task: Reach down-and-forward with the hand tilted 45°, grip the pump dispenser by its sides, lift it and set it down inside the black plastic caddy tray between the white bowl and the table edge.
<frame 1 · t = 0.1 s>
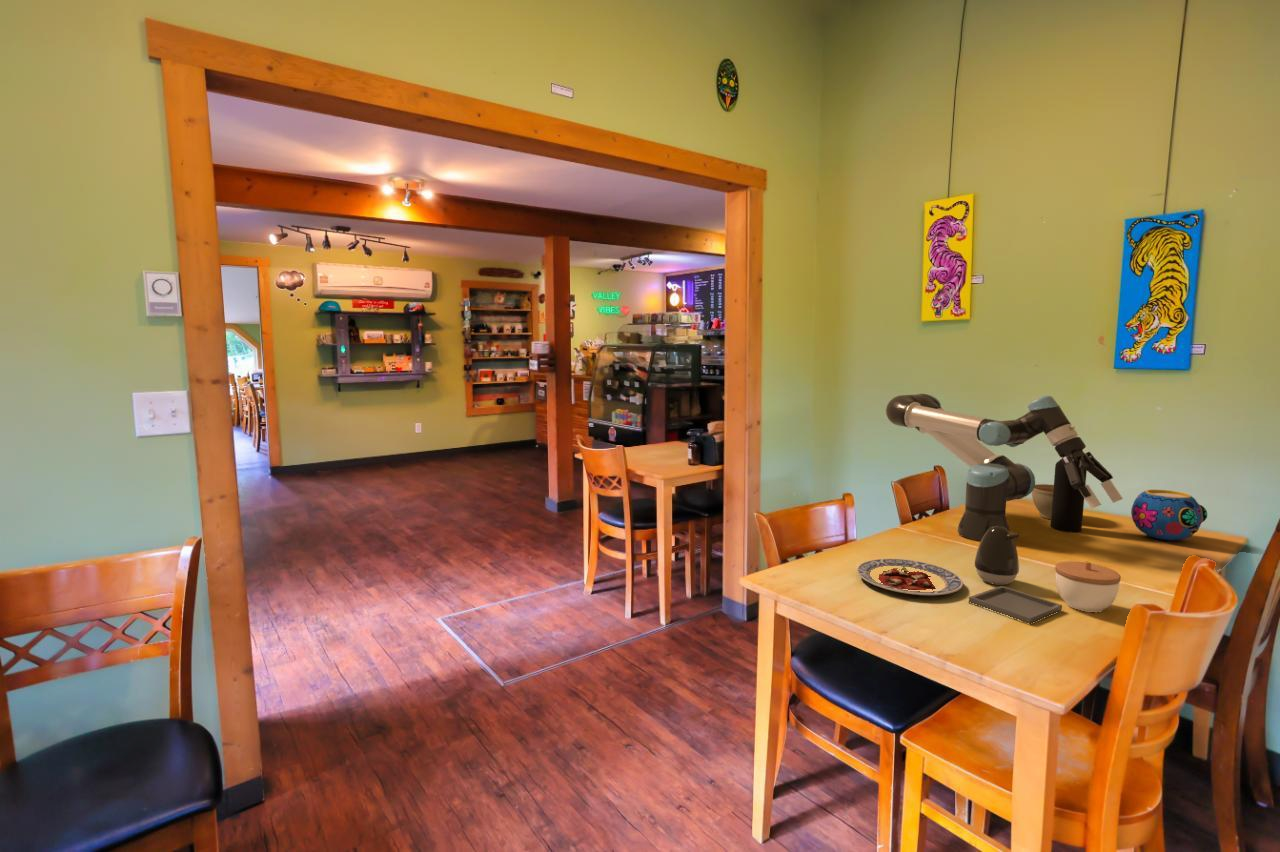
hand: (1107, 503, 185), 15 cm above the table, tool tilted 35°, fingers open, 13 cm apart
lidded bowl: (1084, 607, 148), on the table
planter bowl: (1055, 518, 226), on the table
ceramic plate: (907, 583, 164), on the table
ceramic pot: (1163, 539, 201), on the table
pump dispenser: (995, 582, 164), on the table
caddy tray: (1014, 606, 148), on the table
bottle: (1065, 529, 212), on the table
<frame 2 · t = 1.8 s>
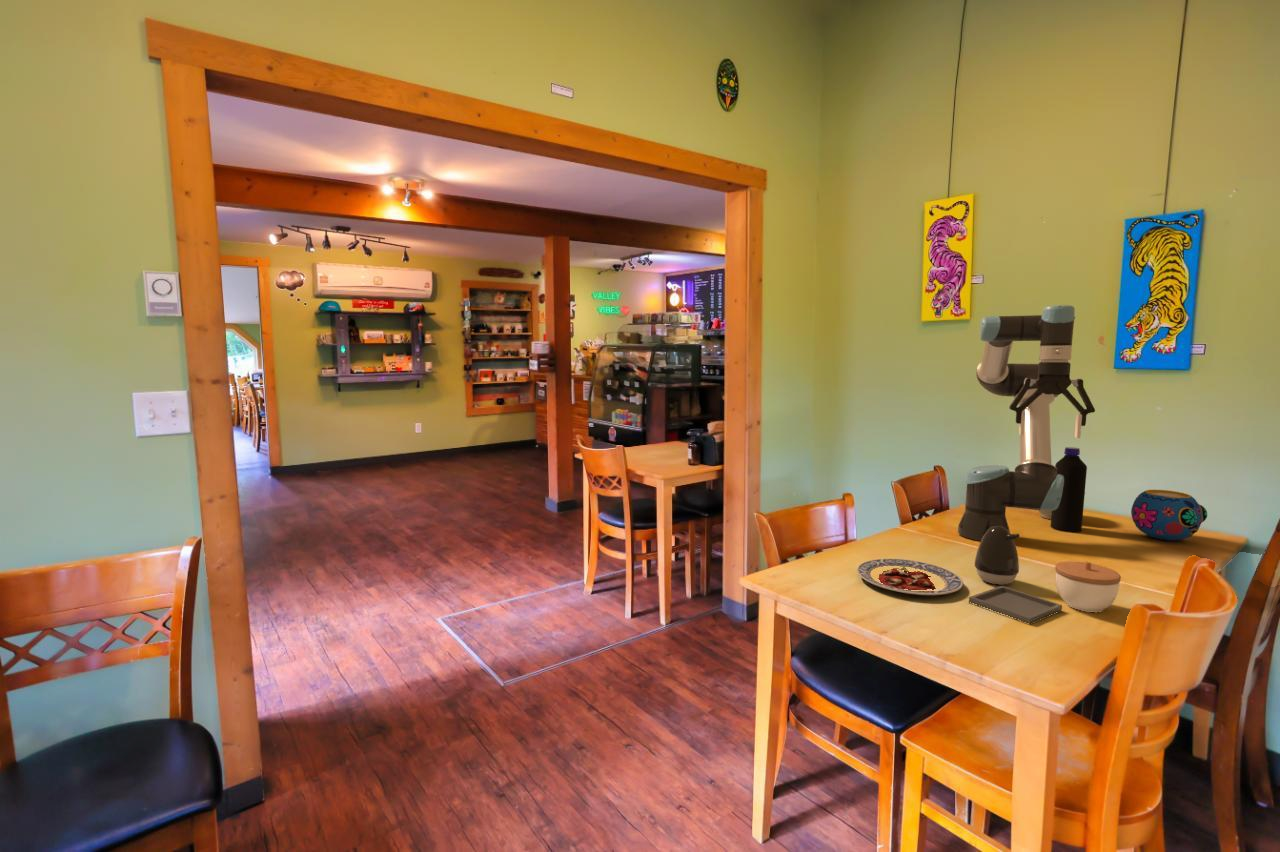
hand: (1048, 436, 176), 37 cm above the table, tool pointing down, fingers open, 13 cm apart
nothing on the table moved.
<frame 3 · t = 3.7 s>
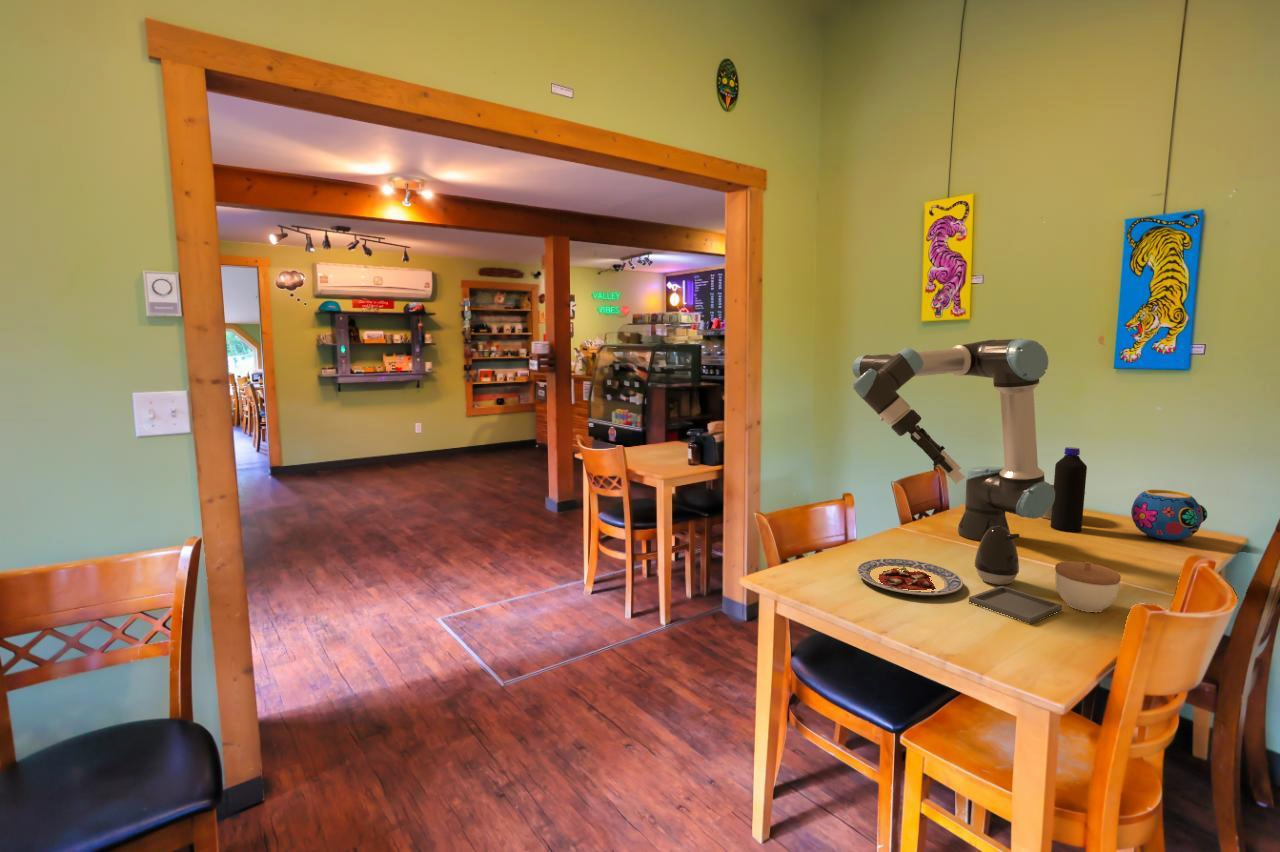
hand: (958, 475, 165), 28 cm above the table, tool tilted 45°, fingers open, 13 cm apart
nothing on the table moved.
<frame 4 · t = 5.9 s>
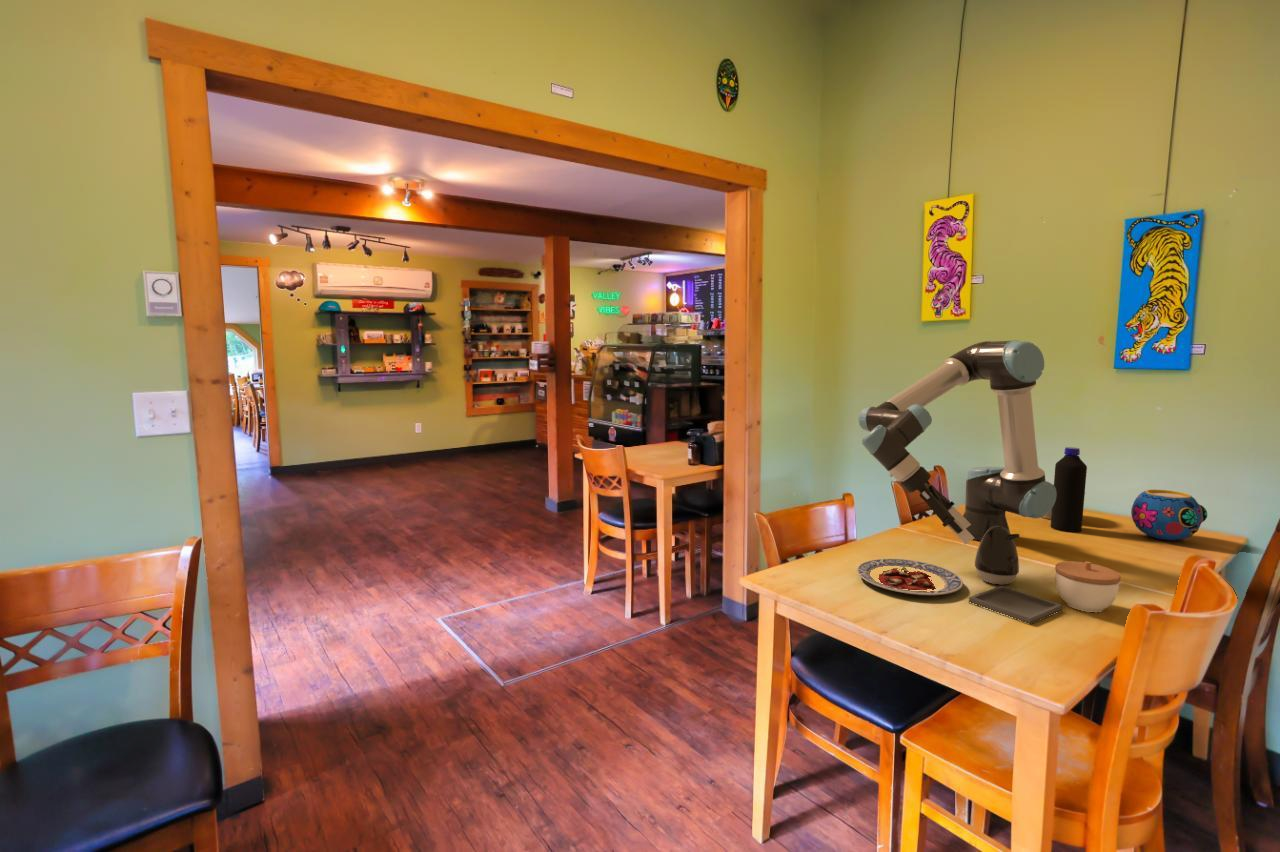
hand: (968, 534, 165), 12 cm above the table, tool tilted 45°, fingers open, 13 cm apart
nothing on the table moved.
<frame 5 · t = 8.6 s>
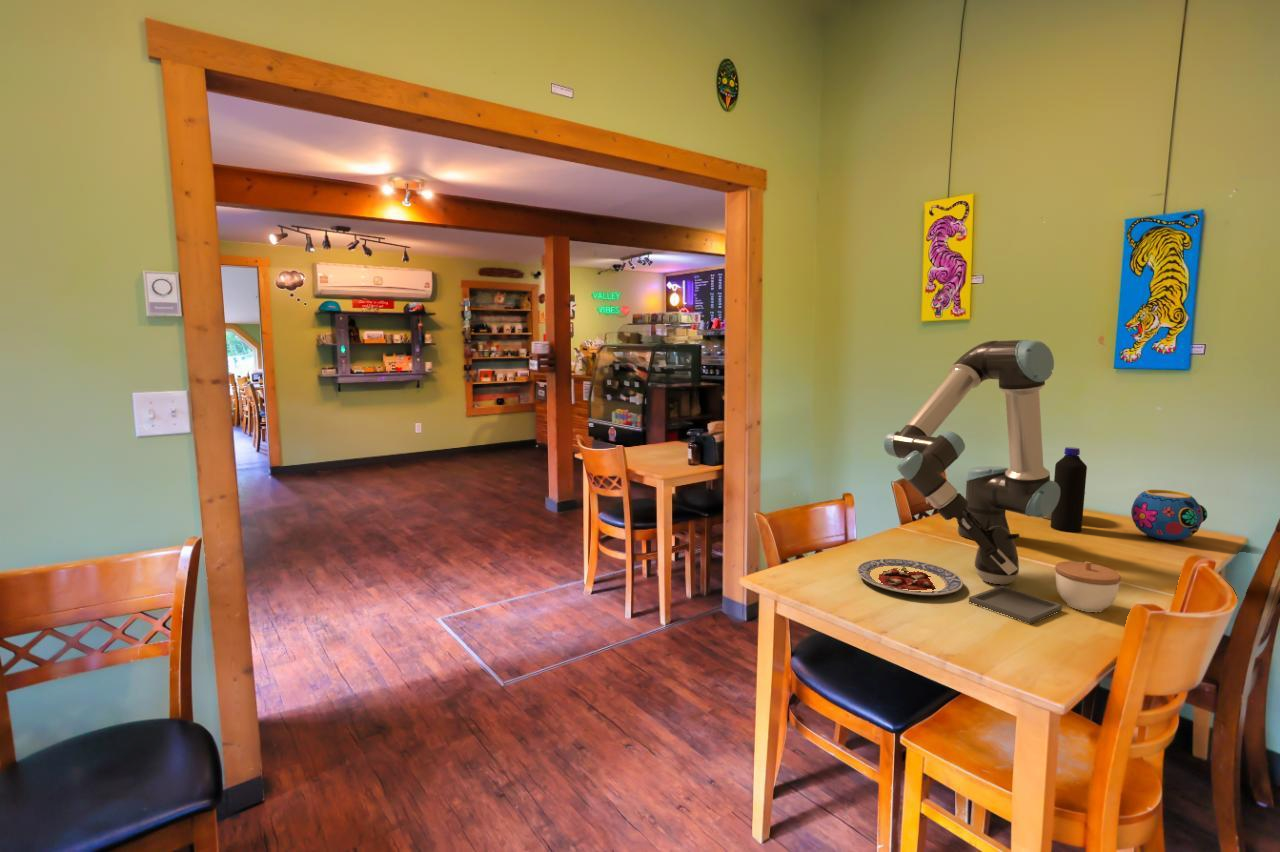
hand: (1010, 565, 162), 5 cm above the table, tool tilted 45°, fingers closed on pump dispenser, 10 cm apart
pump dispenser: (995, 582, 164), on the table, touching gripper
everything else where it was.
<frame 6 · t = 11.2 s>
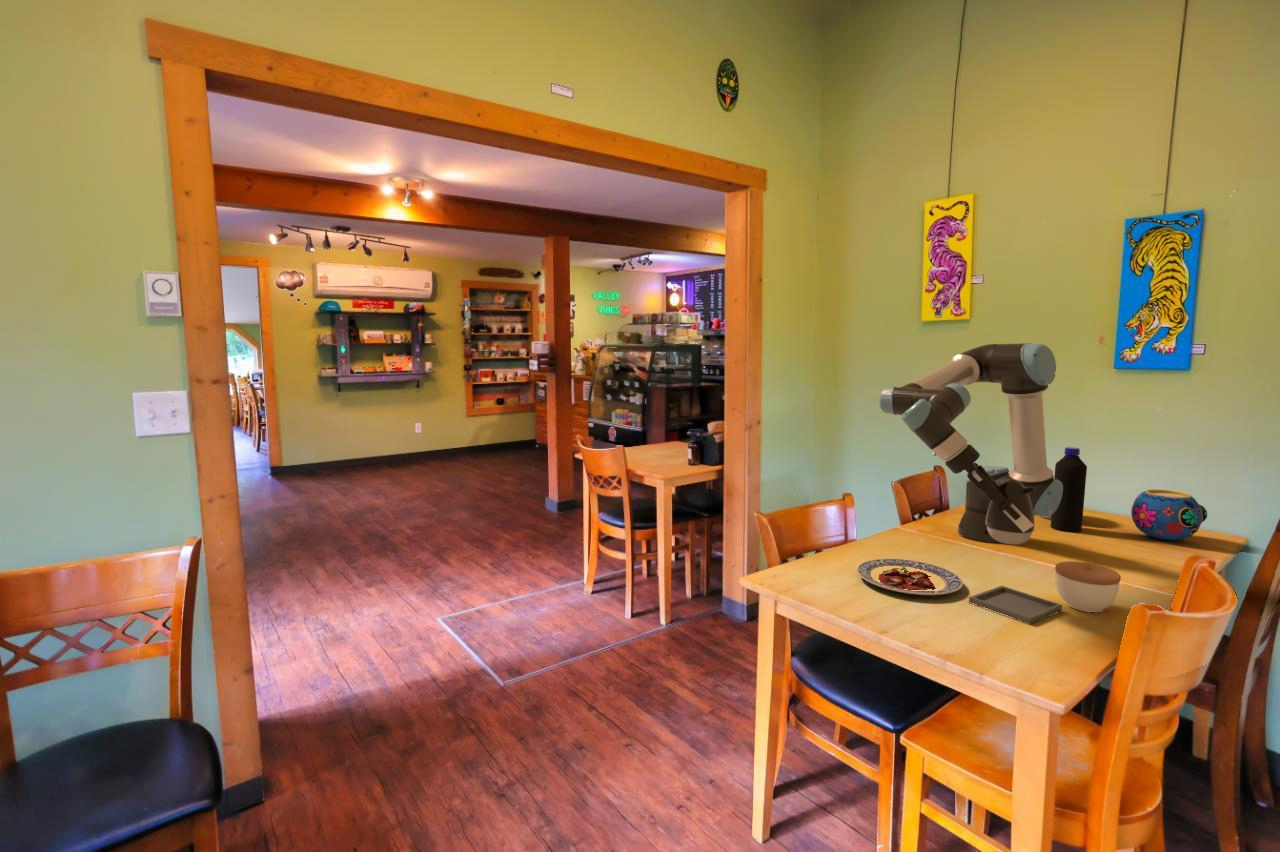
hand: (1025, 523, 148), 20 cm above the table, tool tilted 45°, fingers closed on pump dispenser, 10 cm apart
pump dispenser: (1008, 542, 150), point 15 cm above the table, touching gripper
everything else where it was.
when the fingers open (7 cm above the table, at t = 14.3 s): pump dispenser drops 1 cm, resting on caddy tray.
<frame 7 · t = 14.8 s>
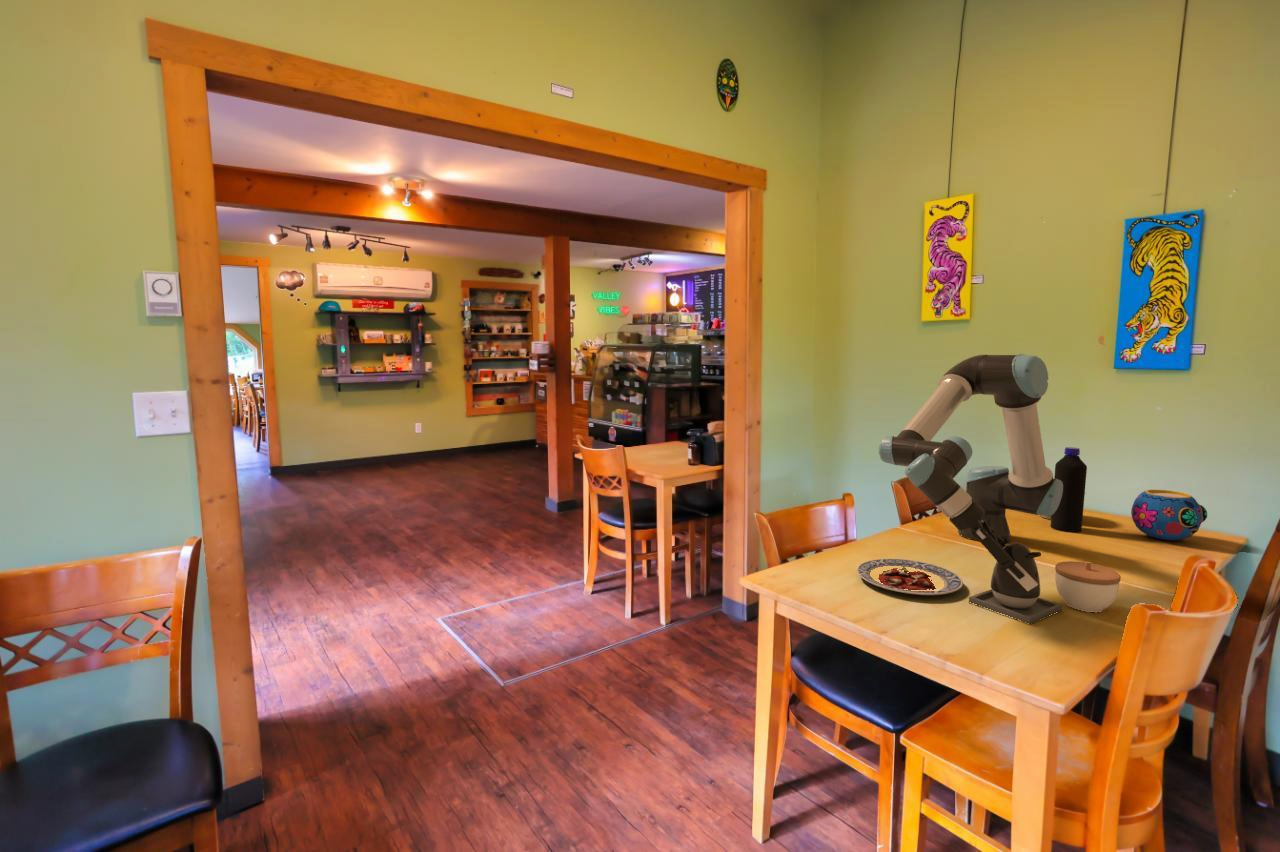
hand: (1028, 577, 146), 8 cm above the table, tool tilted 45°, fingers open, 13 cm apart
pump dispenser: (1014, 605, 148), resting on caddy tray
everything else where it was.
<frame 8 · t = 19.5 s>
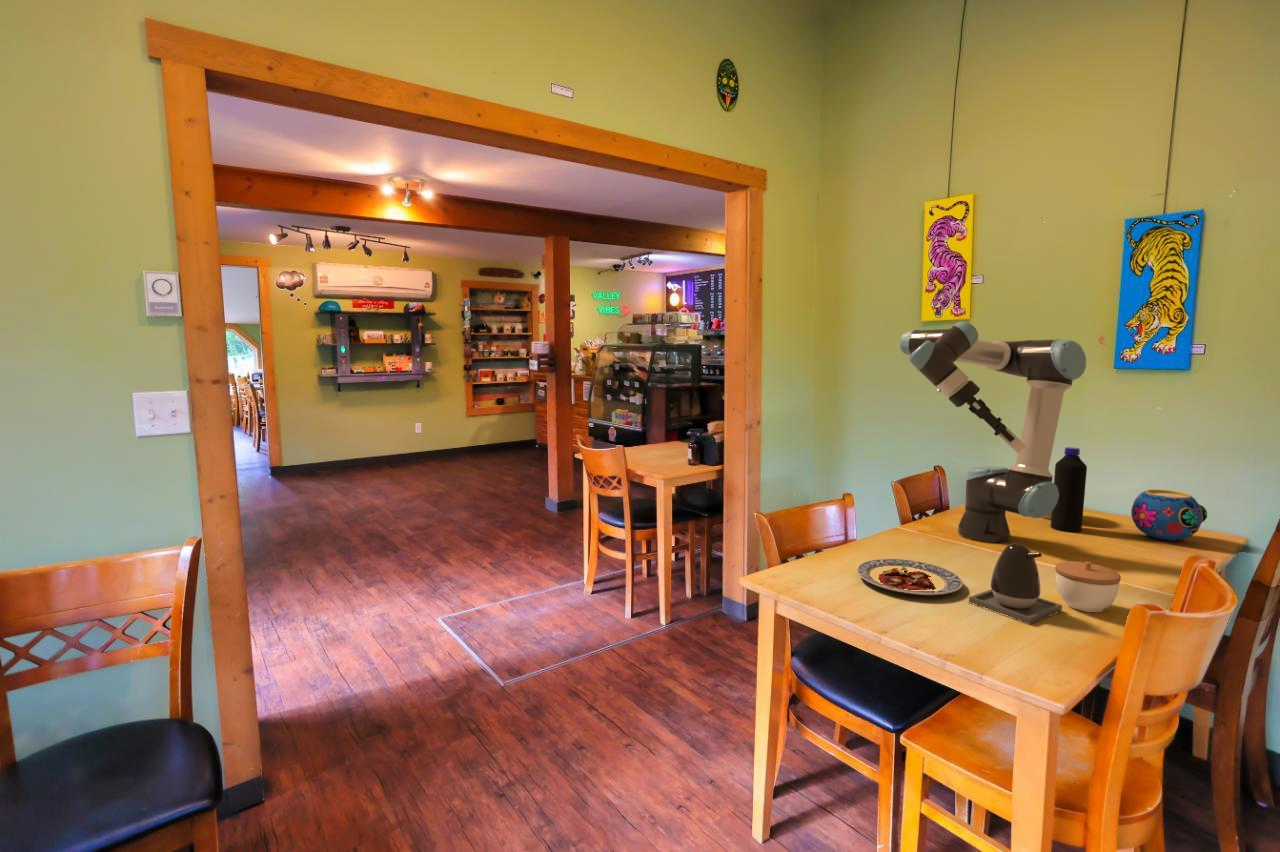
hand: (1018, 445, 165), 36 cm above the table, tool tilted 45°, fingers open, 13 cm apart
nothing on the table moved.
at the end: pump dispenser inside the target area on the caddy tray (0.1 cm from its centre), point 0.3 cm above the caddy tray's base; pump dispenser tilted 0°; the gripper is holding nothing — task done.
